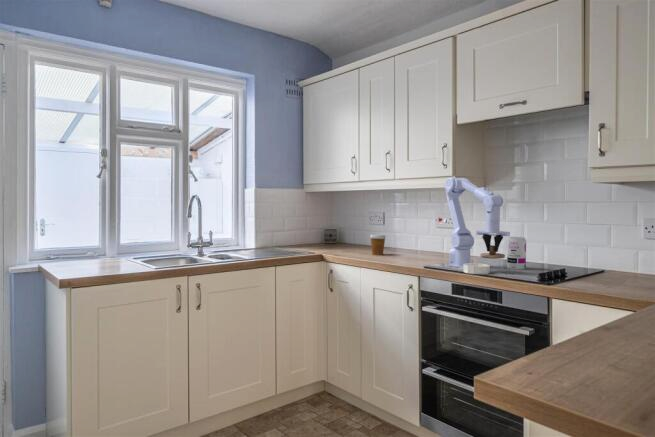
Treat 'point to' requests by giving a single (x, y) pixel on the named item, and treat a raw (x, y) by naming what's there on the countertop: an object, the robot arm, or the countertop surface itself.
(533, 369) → the countertop surface
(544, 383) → the countertop surface
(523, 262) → the supplement can
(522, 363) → the countertop surface
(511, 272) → the mat
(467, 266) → the bowl
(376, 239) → the disposable coffee cup
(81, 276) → the countertop surface
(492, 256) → the lid
